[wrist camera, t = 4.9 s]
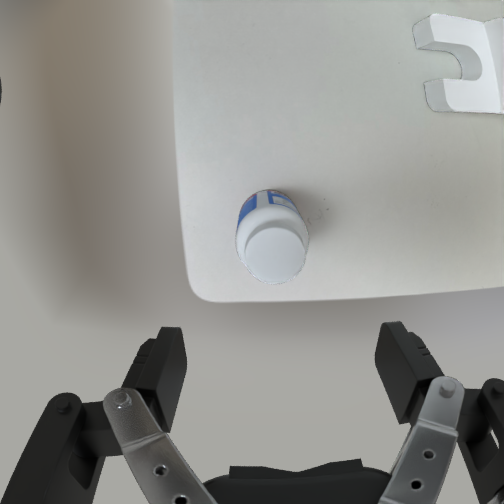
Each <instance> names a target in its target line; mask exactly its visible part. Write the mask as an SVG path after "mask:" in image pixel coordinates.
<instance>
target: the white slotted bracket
mask: <svg viewBox="0 0 504 504" xmlns="http://www.w3.org/2000/svg"><path fill="white" fill-rule="evenodd" d="M413 35H414V39H415V43H416V47H417V49H428V50H438V51H446V52H450V53H451V54H453V55H454V56H455V57H456V58H457V59H458V60H459V62H460V64H461V68H462V77H461V79H460V80H457V79H438V80H433V81H429V82H424V86H425V92H426V98H427V103H428V105H429V107H430V108H431V109H432V110H434V111H436V112H473V113H492V114H504V18H496V19H493V20H490V21H487V22H484V23H483V22H478V21H474V20H470V19H465V18H460V17H455V16H450V15H444V14H438V13H434V14H432V15H430V16H428V17H427V18H425V19H423V20H421V21H420V22H418V23H416V24H415V25H414V26H413Z"/></svg>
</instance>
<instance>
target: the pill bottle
mask: <svg viewBox="0 0 504 504" xmlns="http://www.w3.org/2000/svg"><path fill="white" fill-rule="evenodd" d="M308 245H309V236H308V231H307V228H306V226H305V224H304V222H303V220H302V218H301V216H300V214H299V212H298V211H297V209H296V207H295V205H294V203H293V202H292V201H291V200H290V199H289V198H288V197H287V196H286V195H284V194H282V193H280V192H277V191H271V190H266V191H260V192H257V193H255V194H253V195H252V196H250V197H249V198H248V199H247V200H246V201H245V203H244V204H243V206H242V208H241V211H240V214H239V220H238V226H237V232H236V249H237V253H238V255H239V257H240V259H241V261H242V262H243V263H244V264H245V266H247V268H248V270H249V272H250V273H251V274H252V275H253V276H254V277H255V278H256V279H258V280H260V281H262V282H264V283H267V284H282V283H285V282H287V281H290V280H291V279H293V278H294V277H295V276H296V275H298V273H299V272H300V271H301V269H302V268H303V265H304V263H305V257H306V253H307V250H308Z"/></svg>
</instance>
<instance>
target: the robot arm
mask: <svg viewBox="0 0 504 504" xmlns="http://www.w3.org/2000/svg"><path fill="white" fill-rule="evenodd" d="M375 365H376V368H377V370H378V373H379V375H380V378H381V380H382V382H383V385H384V387H385V390H386V392H387V394H388V397H389V400H390V402H391V405H392V407H393V409H394V412H395V414H396V417H397V420H398V422H399V424H404V423H410V425H411V428H410V430H409V432H408V434H407V437H406V439H405V441H404V443H403V445H402V448H401V450H400V452H399V454H398V456H397V458H396V460H395V462H394V464H393V466H392V468H391V470H390V471H389V473H387V472H384V471H382V470H378V469H374V468H369V467H363V465H362V461H361V459H354V460H347V461H339V462H330V463H327V464H324V465H321V466H318V467H314V468H311V469H307V470H304V471H300V472H292V471H285V470H279V469H273V468H268V467H262V466H259V467H257V466H256V467H255V466H253V467H252V466H250V467H249V466H248V467H247V466H230V471H229V474H228V475H223V476H219V477H216V478H213V479H211V480H208V481H206V482H204V483H201V481H200V480H199V479H198V477H197V476H196V475H195V473H194V472H193V470H192V469H191V468H190V466H189V465H188V464H187V462H186V461H185V459H184V458H183V456H182V455H181V454H180V452H179V451H178V449H177V448H176V446H175V445H174V443H173V442H172V440H171V439H170V437H169V436H168V434H167V433H170V431H171V427H172V423H173V419H174V416H175V412H176V408H177V404H178V400H179V397H180V393H181V389H182V386H183V382H184V378H185V375H186V370H187V357H186V352H185V347H184V340H183V334H182V330H181V328H180V327H161V329H160V331H159V333H158V336H157V338H156V339H151V338H150V339H148V340H147V341H146V342H145V343H144V344H142V345H141V347H140V349H139V351H138V353H137V356H136V357H135V359H134V361H133V364H132V365H131V367H130V369H129V371H128V373H127V376H126V378H125V380H124V382H123V384H122V386H121V388H118V389H115V390H113V391H111V392H110V393H108V394H107V395H106V397H105V398H104V400H103V401H100V402H89V403H82V402H81V400H80V398H79V397H78V396H77V395H75V394H73V393H61V394H58V395H56V396H54V397H53V398H52V399H51V400H50V401H49V402H48V404H47V406H46V408H45V410H44V412H43V414H42V415H41V417H40V419H39V421H38V423H37V425H36V427H35V429H34V431H33V433H32V435H31V437H30V439H29V441H28V443H27V445H26V447H25V449H24V451H23V453H22V455H21V457H20V459H19V461H18V463H17V466H16V468H15V470H14V472H13V475H12V477H11V479H10V481H9V484H8V486H7V488H6V491H5V493H4V496H3V498H2V500H1V503H0V504H92V503H93V499H94V495H95V492H96V488H97V484H98V481H99V478H100V474H101V471H102V468H103V464H104V461H105V458H106V456H118V455H124V457H125V459H126V461H127V463H128V465H129V467H130V469H131V471H132V473H133V475H134V477H135V479H136V481H137V483H138V485H139V486H140V488H141V490H142V492H143V493H144V495H145V497H146V499H147V500H148V502H149V504H435V503H436V501H437V498H438V496H439V493H440V491H441V488H442V485H443V483H444V480H445V477H446V474H447V471H448V468H449V465H450V462H451V459H452V456H453V452H454V449H455V446H456V442H457V443H458V445H459V448H460V450H461V453H462V456H463V458H464V461H465V463H466V466H467V469H468V471H469V474H470V477H471V480H472V482H473V485H474V488H475V491H476V494H477V497H478V500H479V503H480V504H504V381H503V380H500V379H497V378H492V379H489V380H487V381H486V382H485V383H484V384H483V387H482V389H465V388H464V387H463V385H462V384H461V383H460V382H459V381H458V380H457V379H455V378H452V377H449V376H445V375H444V374H443V372H442V371H441V369H440V367H439V366H438V364H437V363H436V361H435V359H434V358H433V356H432V355H430V352H429V350H428V348H426V345H425V344H424V342H423V341H422V339H421V338H420V337H418V336H417V335H415V334H414V333H413V332H407V330H406V328H405V327H404V325H403V324H402V322H400V321H397V322H385V323H383V324H382V325H381V328H380V333H379V338H378V342H377V347H376V352H375ZM491 430H493V432H494V434H495V436H496V438H497V440H498V443H499V449H498V447H497V445H496V443H495V441H494V439H493V437H492V435H491Z"/></svg>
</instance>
